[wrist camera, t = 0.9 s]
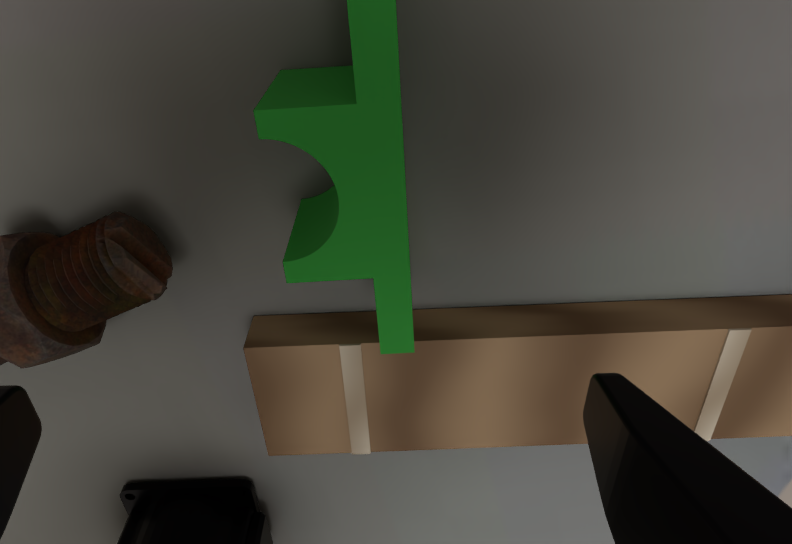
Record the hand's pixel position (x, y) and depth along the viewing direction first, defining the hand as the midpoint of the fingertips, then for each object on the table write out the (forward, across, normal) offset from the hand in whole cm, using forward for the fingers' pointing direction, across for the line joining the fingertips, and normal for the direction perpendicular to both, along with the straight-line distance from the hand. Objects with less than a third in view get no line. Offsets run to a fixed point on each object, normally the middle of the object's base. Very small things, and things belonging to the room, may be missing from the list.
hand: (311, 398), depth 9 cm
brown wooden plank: (+12, -8, +10) cm, 17 cm away
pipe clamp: (+12, 0, 0) cm, 12 cm away
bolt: (+12, +14, +6) cm, 19 cm away
